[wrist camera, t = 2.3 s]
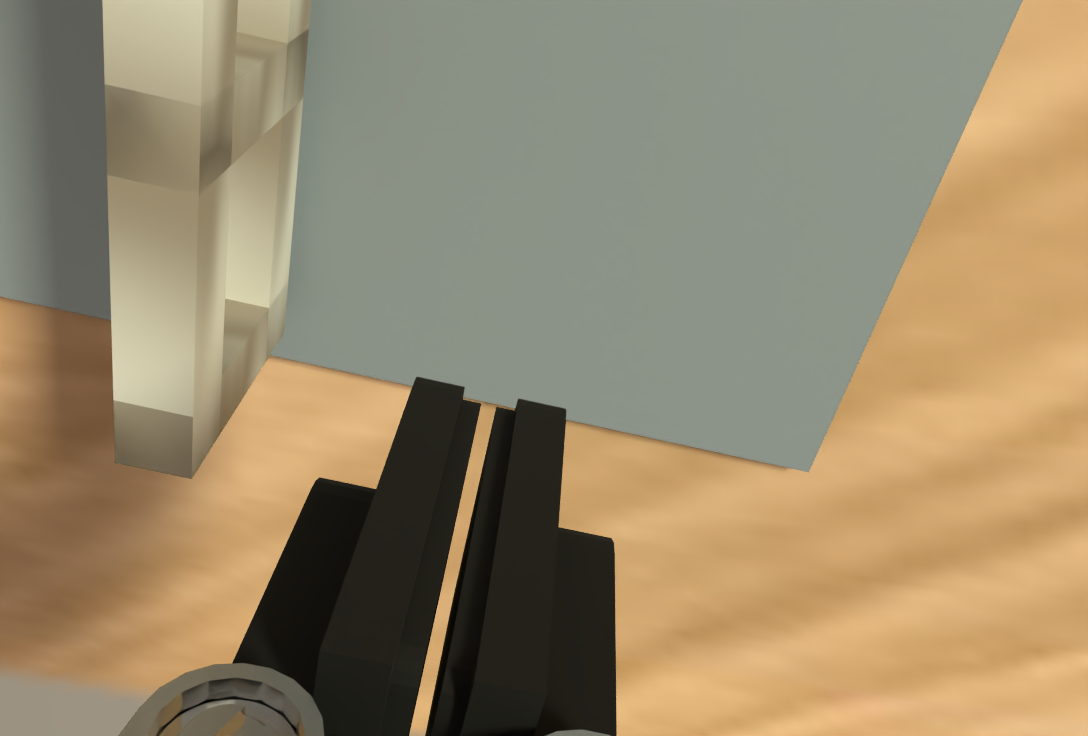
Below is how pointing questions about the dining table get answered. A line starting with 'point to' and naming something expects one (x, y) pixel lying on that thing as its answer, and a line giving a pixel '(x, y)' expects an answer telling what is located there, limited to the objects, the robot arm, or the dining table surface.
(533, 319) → the card
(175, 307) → the fence gate
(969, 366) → the dining table surface
